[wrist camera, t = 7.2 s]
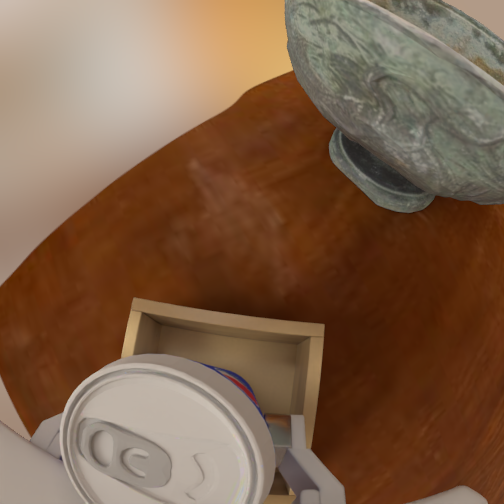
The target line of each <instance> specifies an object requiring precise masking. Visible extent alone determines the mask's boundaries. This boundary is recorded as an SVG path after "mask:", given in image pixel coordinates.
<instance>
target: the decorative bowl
mask: <svg viewBox="0 0 504 504" xmlns="http://www.w3.org/2000/svg"><path fill="white" fill-rule="evenodd" d="M285 25H286V29H287V37H288V42H287V49H288V52H289V56H290V60H291V63H292V66H293V70H294V72H295V75H296V77H297V80H298V82H299V83H300V85H301V86H302V87H303V89H304V90H305V92H306V93H307V95H308V96H309V97H310V99H311V100H312V102H313V103H314V104H315V106H316V107H317V108H318V110H319V111H320V112H321V113H322V115H323V116H324V117H325V118H326V119H327V120H328V121H329V122H330V123H332V124H333V125H334V126H335V127H336V129H335V131H334V133H333V135H332V138H331V140H330V143H329V153H330V157H331V159H332V161H333V163H334V164H335V165H336V166H337V167H338V169H340V170H341V171H342V172H343V173H344V174H345V175H346V176H347V177H348V178H349V179H350V180H351V181H352V182H353V183H354V184H355V185H356V186H357V187H359V188H360V189H361V190H362V191H363V192H364V193H365V194H366V195H367V196H368V197H369V198H370V199H371V200H372V201H373V202H374V203H375V204H377V205H379V206H381V207H384V208H386V209H390V210H393V211H397V212H407V213H411V212H415V211H419V210H423V209H424V208H425V207H427V206H428V205H429V204H430V203H431V202H432V201H433V200H434V198H435V196H436V195H438V196H442V197H452V198H454V199H457V200H460V201H463V200H469V201H473V202H475V203H478V204H480V205H488V204H504V41H503V40H502V39H501V38H499V37H498V36H497V35H496V34H494V33H493V32H492V31H490V30H489V29H488V28H487V27H485V26H484V25H483V24H481V23H480V22H478V21H477V20H475V19H473V18H472V17H470V16H468V15H466V14H465V13H464V12H462V11H461V10H458V9H457V8H455V7H453V6H451V5H449V4H447V3H445V2H443V1H442V0H285Z"/></svg>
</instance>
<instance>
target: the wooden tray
mask: <svg viewBox="0 0 504 504" xmlns="http://www.w3.org/2000/svg"><path fill="white" fill-rule="evenodd" d="M324 328H325V324H318V323H307V322H297V321H287V320H278V319H269V318H260V317H252V316H245V315H237V314H230V313H223V312H216V311H209V310H203V309H196V308H190V307H184V306H178V305H173V304H167V303H161V302H156V301H151V300H145V299H140V298H135V297H134V298H133V302H132V306H131V312H130V316H129V321H128V325H127V330H126V335H125V340H124V345H123V350H122V356H121V359H122V358H126V357H130V356H133V355H141V354H167V355H172V356H177V357H183V358H186V359H189V360H193V361H196V362H199V363H203V364H207V365H210V366H214V367H218V368H221V369H225V370H229V371H232V372H234V373H236V374H238V375H239V376H241V377H242V378H243V379H244V380H246V382H247V383H248V384H249V385H250V387H251V388H252V390H253V393H254V395H255V397H256V400H257V402H258V405H259V407H260V410H261V412H262V415H263V416H264V413H278V414H290V415H303V416H304V420H305V435H306V449H311V445H312V438H313V432H314V425H315V418H316V410H317V402H318V394H319V385H320V376H321V365H322V354H323V342H324V338H323V337H324ZM295 498H296V495H295V494H294V492H293V491H292V489H291V488H290V486H289V485H288V483H287V482H286V480H285V479H284V477H283V476H282V474H281V473H280V471H279V468H275V474H274V481H273V483H272V486H271V489H270V492H269V494H268V496H267V497H266V499H265V501H264V502H263V504H291V503H292V502H293V501H294V500H295Z"/></svg>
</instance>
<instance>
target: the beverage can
mask: <svg viewBox="0 0 504 504" xmlns="http://www.w3.org/2000/svg"><path fill="white" fill-rule="evenodd" d="M60 448H61V455H62V459H63V462H64V466H65V469H66V471H67V473H68V476H69V478H70V480H71V482H72V484H73V485H74V487H75V489H76V490H77V492H78V494H79V495H80V496H81V498H82V499H83V500H84V501H85V503H86V504H263V502H264V501H265V499H266V497H267V496H268V494H269V492H270V489H271V486H272V483H273V481H274V474H275V467H276V462H275V449H274V445H273V441H272V437H271V434H270V431H269V429H268V427H267V424H266V422H265V420H264V417H263V415H262V412H261V410H260V407H259V405H258V402H257V400H256V397H255V395H254V393H253V390H252V388H251V387H250V385H249V384H248V383H247V382H246V380H244V379H243V378H242V377H241V376H239V375H238V374H236V373H234V372H232V371H229V370H225V369H221V368H218V367H214V366H210V365H207V364H203V363H199V362H196V361H193V360H189V359H186V358H183V357H177V356H172V355H167V354H141V355H133V356H130V357H126V358H122V359H119V360H117V361H115V362H113V363H111V364H108V365H106V366H105V367H103V368H102V369H101V370H99V371H97V372H96V373H94V374H92V375H91V376H90V377H88V378H87V379H86V380H84V381H83V382H82V383H81V384H80V385H79V386H78V387H77V388H76V389H75V391H74V392H73V394H72V395H71V397H70V398H69V400H68V402H67V404H66V407H65V409H64V412H63V414H62V419H61V424H60Z"/></svg>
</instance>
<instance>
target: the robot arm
mask: <svg viewBox="0 0 504 504" xmlns="http://www.w3.org/2000/svg"><path fill="white" fill-rule="evenodd" d="M62 414H63V413H61V414H59V415H56V416H54V417H52V418H49V419H47V420H45V421H43V422H42V423H41V425H40V426H39V428H38V429H37V431H36V432H35V433H34V435H33V436H32V438H31V440H30V441H28V440H26V439H25V438H24V437H22V436H21V435H19V434H18V433H16V432H15V431H14V430H12V429H11V428H9V427H8V426H7V425H5V424H4V423H3V422H2V421H0V504H86V503H85V501H84V500H83V499H82V498H81V496H80V495H79V494H78V492H77V490H76V489H75V487H74V485H73V484H72V482H71V480H70V478H69V476H68V473H67V471H66V469H65V466H64V462H63V459H62V455H61V448H60V424H61V419H62ZM263 417H264V420H265V422H266V424H267V427H268V429H269V431H270V434H271V437H272V441H273V445H274V449H275V462H276V467H275V468H279V471H280V473H281V474H282V476H283V477H284V479H285V480H286V482H287V483H288V485H289V486H290V488H291V489H292V491H293V492H294V494H295V495H296V498H295V500H294V501H293V502H292V503H291V504H346V500H345V491H344V486H343V485H342V484H341V483H340V482H339V481H338V480H337V479H336V478H335V477H334V476H333V474H332V473H331V472H330V471H329V470H328V469H327V468H326V467H325V465H324V464H323V463H322V462H321V461H320V460H319V459H318V457H317V456H316V455H315V454H314V453H313V452H312V451H311V449H306V435H305V420H304V416H303V415H290V414H278V413H264V416H263ZM405 504H488V503H487V500H486V499H485V498H484V497H483V496H482V495H480V494H479V493H477V492H476V491H474V490H472V489H471V488H469V487H467V486H464V485H461V486H457V487H455V488H452V489H449V490H447V491H444V492H441V493H438V494H435V495H433V496H429V497H426V498H423V499H420V500H416V501H413V502H409V503H405Z"/></svg>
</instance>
